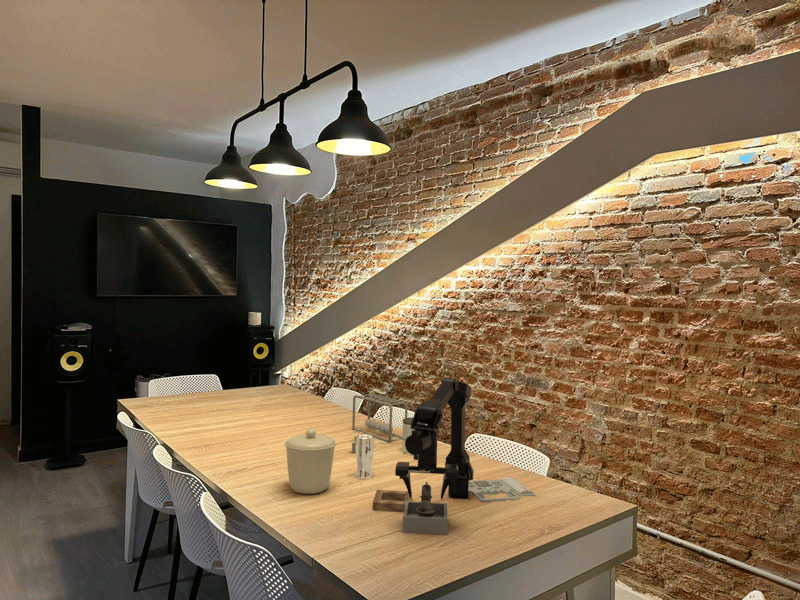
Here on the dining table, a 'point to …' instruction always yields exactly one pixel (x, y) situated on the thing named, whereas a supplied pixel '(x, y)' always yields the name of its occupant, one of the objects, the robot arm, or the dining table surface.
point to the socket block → (390, 505)
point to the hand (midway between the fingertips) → (426, 498)
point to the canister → (309, 461)
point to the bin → (425, 519)
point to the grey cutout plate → (498, 489)
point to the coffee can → (406, 433)
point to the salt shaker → (425, 503)
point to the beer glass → (364, 455)
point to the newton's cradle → (373, 423)
